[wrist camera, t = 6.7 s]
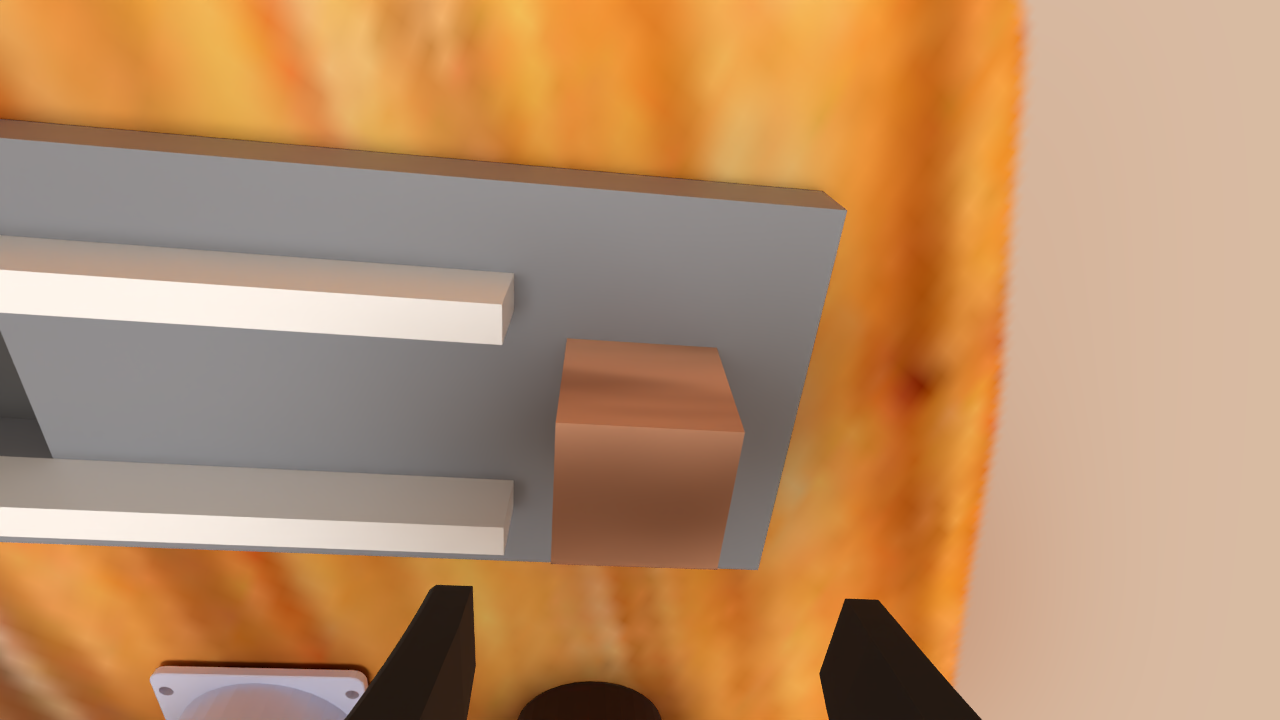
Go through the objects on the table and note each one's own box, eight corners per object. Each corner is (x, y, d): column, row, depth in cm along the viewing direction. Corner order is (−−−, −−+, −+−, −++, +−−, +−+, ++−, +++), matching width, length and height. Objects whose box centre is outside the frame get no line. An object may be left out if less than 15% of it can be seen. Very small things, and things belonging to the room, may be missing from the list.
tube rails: (513, 506, 19) (503, 555, 17) (-194, 475, 18) (-285, 525, 16) (514, 273, 16) (502, 304, 14) (-367, 208, 14) (-506, 234, 12)
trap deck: (746, 527, 23) (757, 570, 21) (-106, 491, 20) (-174, 535, 19) (822, 191, 17) (847, 210, 15) (-337, 89, 15) (-465, 98, 13)
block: (696, 467, 19) (717, 569, 15) (561, 460, 19) (550, 563, 15) (716, 347, 17) (744, 432, 13) (567, 338, 17) (555, 422, 13)
